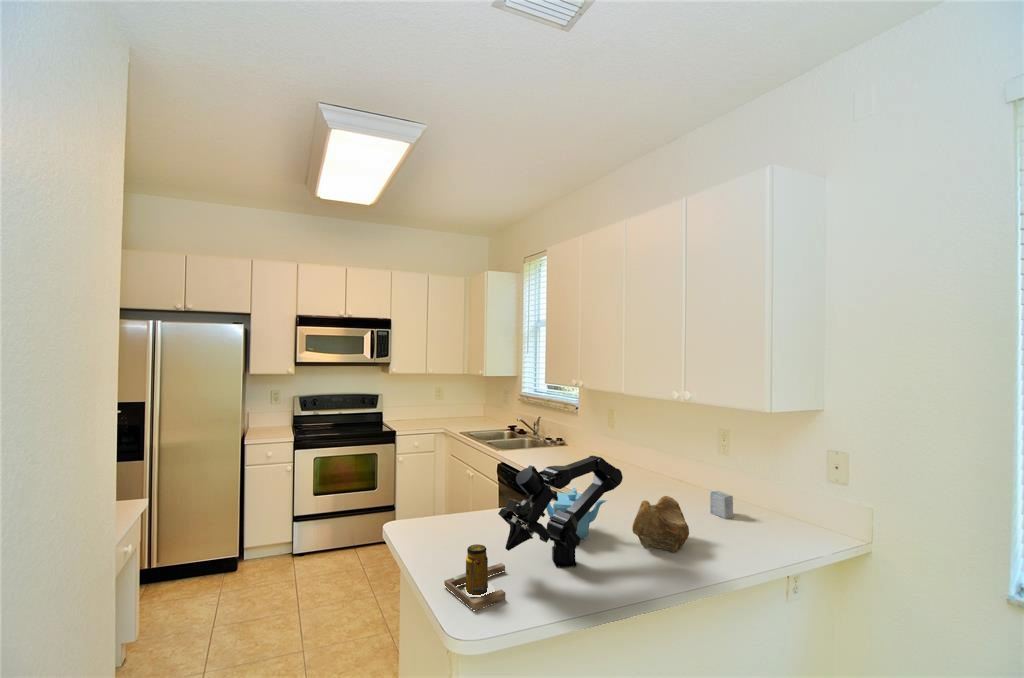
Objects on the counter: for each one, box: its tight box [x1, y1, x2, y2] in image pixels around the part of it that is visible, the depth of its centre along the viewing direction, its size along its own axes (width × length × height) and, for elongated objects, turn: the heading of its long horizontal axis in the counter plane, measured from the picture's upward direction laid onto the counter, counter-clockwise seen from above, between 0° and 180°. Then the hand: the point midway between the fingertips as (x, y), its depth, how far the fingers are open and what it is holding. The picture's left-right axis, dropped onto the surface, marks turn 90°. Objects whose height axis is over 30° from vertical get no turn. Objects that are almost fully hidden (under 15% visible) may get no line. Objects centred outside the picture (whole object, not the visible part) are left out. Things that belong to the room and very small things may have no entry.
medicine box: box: [709, 490, 734, 520], centre depth 202 cm, size 8×4×9 cm, turn 22°
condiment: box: [465, 543, 489, 595], centre depth 140 cm, size 7×8×12 cm
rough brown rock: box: [631, 495, 690, 554], centre depth 171 cm, size 23×17×15 cm
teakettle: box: [545, 487, 608, 541], centre depth 182 cm, size 19×19×15 cm
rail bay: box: [444, 562, 506, 611], centre depth 141 cm, size 19×16×2 cm
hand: (506, 549), depth 144 cm, fingers closed
